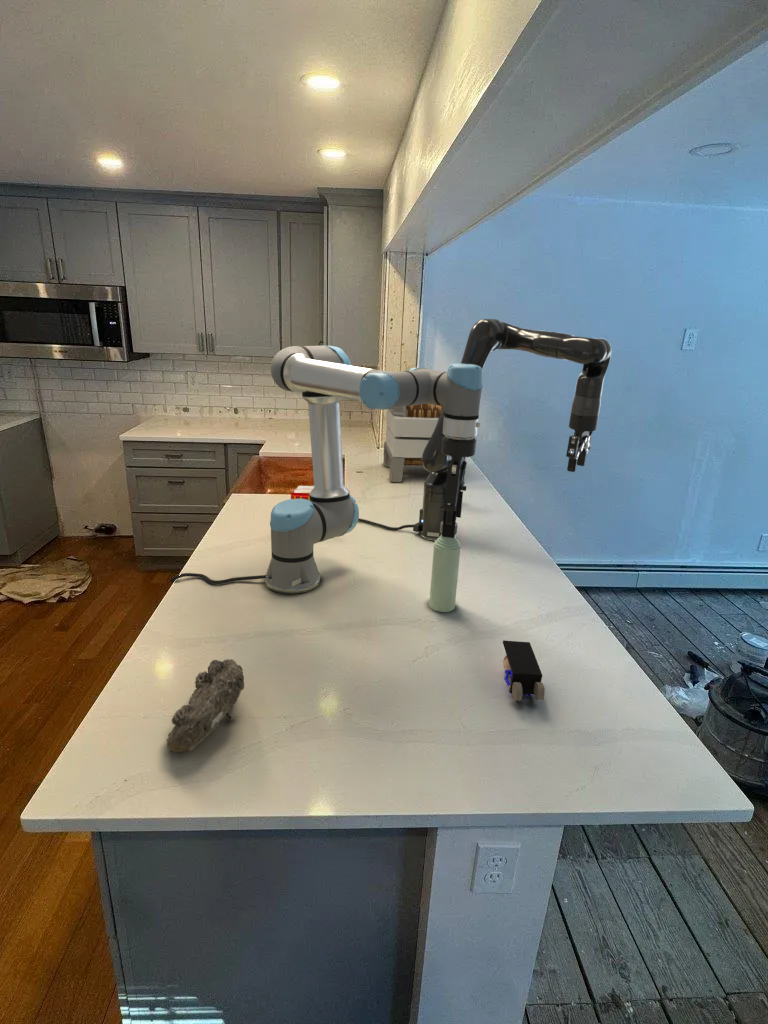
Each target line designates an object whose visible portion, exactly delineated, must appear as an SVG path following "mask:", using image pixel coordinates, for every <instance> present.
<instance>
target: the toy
mask: <svg viewBox="0 0 768 1024" xmlns="http://www.w3.org/2000/svg"><path fill="white" fill-rule="evenodd" d="M313 488H314V485H298V486H297V487H296V488H295V489H293V492H290V499H294V500H295V499H306V500H309V501H310V497H309V493H310V492H311V491H312V490H313Z"/></svg>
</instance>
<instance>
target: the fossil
mask: <svg viewBox="0 0 768 1024" xmlns="http://www.w3.org/2000/svg"><path fill="white" fill-rule="evenodd" d="M243 670H244V669H243V667H242V665H240V664H237V662H236V661H235V660H234V659H232V658H231V659H227V658H226V659H224V660H223V661H222V660H217V659H212V660H211V661H210V663H209V665H208V666H207V671H201V672H199V673H198V674H197V675H196V676H195V680H194V684H195V685H194V687H195V689H194V690H193V693H192V694H191V697H190V698H189V700H188V704H184V705H182V706H181V707H180V709H177V710H176V711H175V713H174V715H173V716H172V718H171V723H172V724H173V727H172V730H171V731H170V732H168V734H167V738H166V741H167V742H166V745H167V749H168V750H169V751H173V752H174V753H176V754H178V753H182V752H188V751H189V752H192V751H193V750H195V748H196V747H197V746H199V744H200V743H201V742H203V741H204V740H205V739H206V738H207V737H208V736H209V735H210V734H211V733H212V732H214V730H215V729H217V727H218V726H219V724H220V722H221V721H222V720H223V719H224V718H225V716H226V717H227V719H229V720H233V717H232V715H230V714H229V710H230V709H231V708H234V706H235V704H236V703H237V702H238V699H239V697H240V695H241V693H242V691H243V690H245V689H244V688H245V675H244V671H243Z"/></svg>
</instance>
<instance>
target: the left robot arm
mask: <svg viewBox="0 0 768 1024" xmlns="http://www.w3.org/2000/svg"><path fill="white" fill-rule="evenodd" d="M483 373H484V372H483V369H482V368H481V367H480V366H478V365H472V364H461V363H451V364H449V365H448V367H447V371H442V370H437V369H429V368H427V367H411V368H409V369H408V370H402V371H401V370H399V371H391V370H390V371H387V370H381V369H375V368H370V367H369V368H368V367H362V366H355V365H352V364H351V360H350V358H349V356H348V355H347V354H346V353H345V351H344V350H343V349H342V348H340V347H338V346H334V345H325V344H323V345H292V346H286V347H284V348H283V349H281V350H279V351H278V352H277V353H276V354H275V355H274V357H273V358H272V360H271V364H270V375H271V379H272V380H273V382H274V383H275V385H277V386H278V387H279V388H280V389H282V390H283V391H286V392H291V393H292V392H293V393H297V394H301V396H302V399H303V400H304V401H305V402H307V405H308V417H309V419H308V420H309V433H310V447H311V463H312V478H313V486H314V488H313V490H312V491H311V492H310V493H309V497H310V501H309V500H306V499H295V500H294V499H291V498H289V499H285V500H282V501H279V503H277V504H276V505H274V506H273V508H272V509H271V512H270V520H269V526H270V540H271V541H270V547H271V548H270V549H271V551H270V552H271V559H270V561H269V565H268V568H267V569H266V574H262V575H248V576H238V577H237V576H236V577H231V578H226V579H225V578H224V579H220V580H213V579H211V578H210V577H208V576H207V575H205V574H202V573H196V572H185V573H184V572H183V573H178V574H177V575H174V576H173V577H171V579H170V580H169V583H174V582H175V581H177V580H178V579H181V578H184V577H185V578H186V577H194V578H201V579H204V580H205V581H206V582H207V583H209V584H212V585H223V584H227V583H232V582H238V581H239V582H240V581H251V580H263V579H264V580H265V585H266V587H267V588H268V589H269V590H271V591H273V592H276V593H280V594H284V595H285V594H287V595H294V594H295V595H296V594H304V593H307V592H310V591H312V590H314V589H315V588H317V587H319V585H320V583H321V574H320V571H319V569H318V566H317V563H316V560H315V557H314V545H315V544H318V543H321V542H324V541H328V540H330V539H335V538H339V537H342V536H344V535H347V534H349V533H351V532H352V531H353V530H354V529H355V528H356V526H357V525H358V522H359V521H358V519H360V510H359V509H360V508H359V505H358V503H356V498H354V496H352V495H350V490H349V489H348V488H347V487H346V486H345V484H344V483H345V479H344V463H343V462H344V461H343V446H342V445H343V444H342V426H341V425H342V424H341V410H340V409H341V408H340V402H341V400H342V399H343V400H344V399H345V400H349V401H354V402H358V403H362V404H364V405H365V407H366V408H368V409H370V410H381V411H385V410H387V409H389V408H395V407H402V406H412V405H420V404H433V405H439V406H445V411H444V421H443V434H444V435H445V436H444V437H443V438H442V453H443V454H445V455H449V456H451V457H452V459H451V460H449V463H448V465H447V470H448V473H447V485H446V492H445V500H444V506H441V509H443V510H444V516H443V528H442V537H449V538H454V535H455V536H456V534H455V524H456V523H457V518H458V519H459V518H461V517H462V509H463V508H462V507H463V496H464V492H466V491H467V486H466V485H465V475H466V469H467V464H468V461H466V458H470V457H473V456H475V455H476V450H477V439H476V438H475V437H477V436H478V428H481V426H482V423H481V422H479V416H480V407H481V406H480V405H481V398H482V392H483V391H482V390H483V388H484V387H483ZM448 503H449V504H450V505H449V504H448ZM180 574H181V575H180ZM179 575H180V576H179Z"/></svg>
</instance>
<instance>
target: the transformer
mask: <svg viewBox="0 0 768 1024" xmlns="http://www.w3.org/2000/svg"><path fill="white" fill-rule="evenodd" d="M443 407H444V406H439V405H433V404H420V405H412V406H402V407H395V408H389V409H386V413H385V414H386V415H385V423H386V428H385V438H384V442H383V466H384V467H388V468H389V475H388V476H389V477H388V478H389V480H390V482H391V483H402V482H403V475H404V469H405V466H406V467H407V466H411V467H412V466H413V467H415V466H416V467H417V466H418V467H424V466H423V464H422V454H423V451H424V449H425V447H426V445H427V443H428V441H429V440H430V438H431V436H432V434H433V432H434V430H435V427H436V425H437V422H438V419H439V417H440V414H441V412H442V409H443Z"/></svg>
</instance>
